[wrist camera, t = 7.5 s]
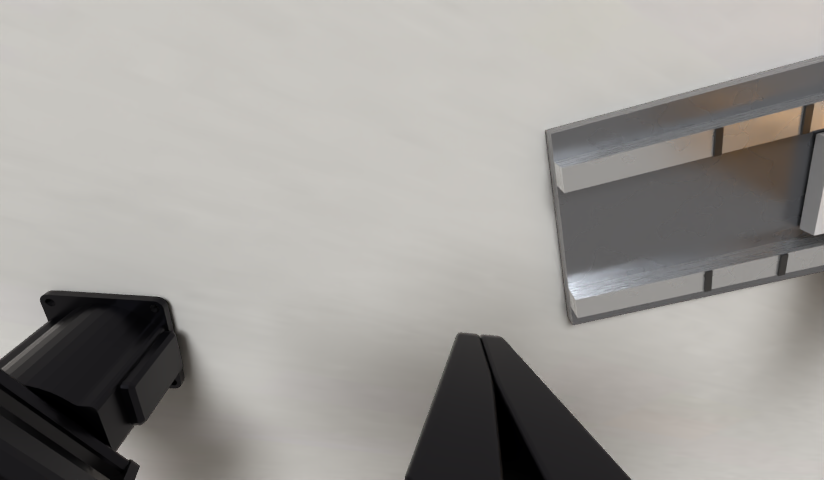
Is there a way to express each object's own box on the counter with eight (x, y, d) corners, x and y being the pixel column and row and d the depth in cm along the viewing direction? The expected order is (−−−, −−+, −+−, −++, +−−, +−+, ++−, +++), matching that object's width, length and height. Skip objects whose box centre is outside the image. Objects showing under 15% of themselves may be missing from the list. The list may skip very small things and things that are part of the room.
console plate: (567, 316, 23) (590, 355, 20) (545, 130, 19) (570, 147, 16) (951, 232, 21) (1035, 263, 18) (1038, -3, 16) (1171, -11, 14)
